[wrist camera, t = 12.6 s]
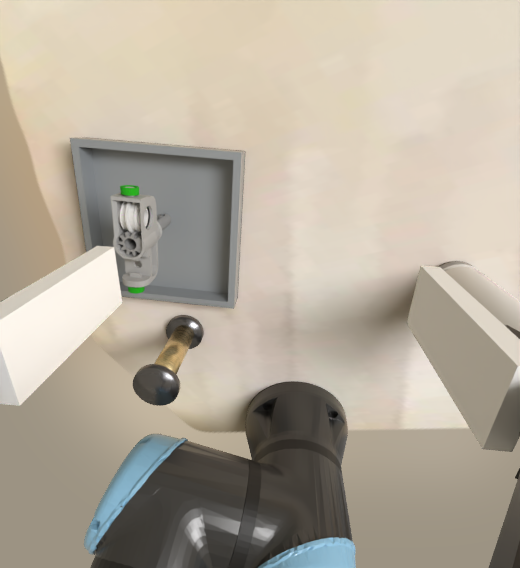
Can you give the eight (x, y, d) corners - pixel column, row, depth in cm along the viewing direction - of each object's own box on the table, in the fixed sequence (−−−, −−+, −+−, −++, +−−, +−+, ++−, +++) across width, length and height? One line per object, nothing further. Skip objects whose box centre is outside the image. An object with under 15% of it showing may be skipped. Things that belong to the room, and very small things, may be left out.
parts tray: (237, 297, 45) (234, 308, 42) (104, 283, 45) (92, 293, 43) (245, 151, 37) (241, 152, 34) (85, 137, 38) (69, 137, 35)
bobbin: (203, 347, 48) (178, 407, 38) (168, 343, 48) (134, 402, 38) (203, 317, 46) (177, 371, 36) (167, 313, 46) (131, 366, 36)
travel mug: (484, 257, 40) (648, 362, 21) (472, 307, 42) (609, 439, 24) (428, 258, 40) (541, 361, 22) (420, 307, 43) (515, 436, 25)
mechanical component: (154, 258, 43) (117, 292, 34) (150, 173, 38) (107, 186, 29) (177, 260, 42) (147, 296, 33) (176, 176, 38) (141, 190, 29)
